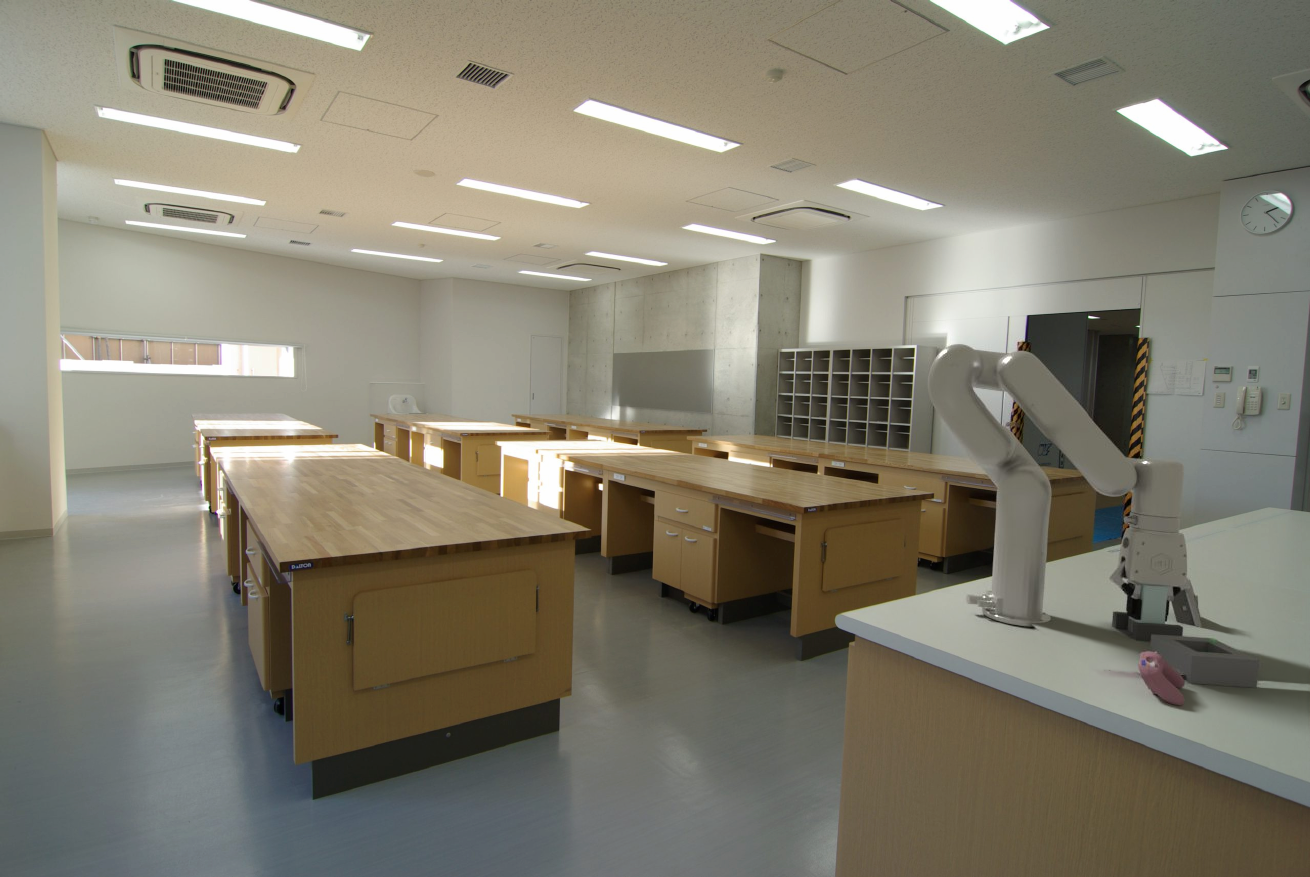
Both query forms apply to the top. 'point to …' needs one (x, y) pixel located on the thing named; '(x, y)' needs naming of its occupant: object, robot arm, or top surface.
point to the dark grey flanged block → (1143, 628)
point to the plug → (1151, 605)
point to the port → (1206, 660)
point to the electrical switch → (1187, 607)
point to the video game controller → (1161, 677)
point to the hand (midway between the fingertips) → (1146, 617)
